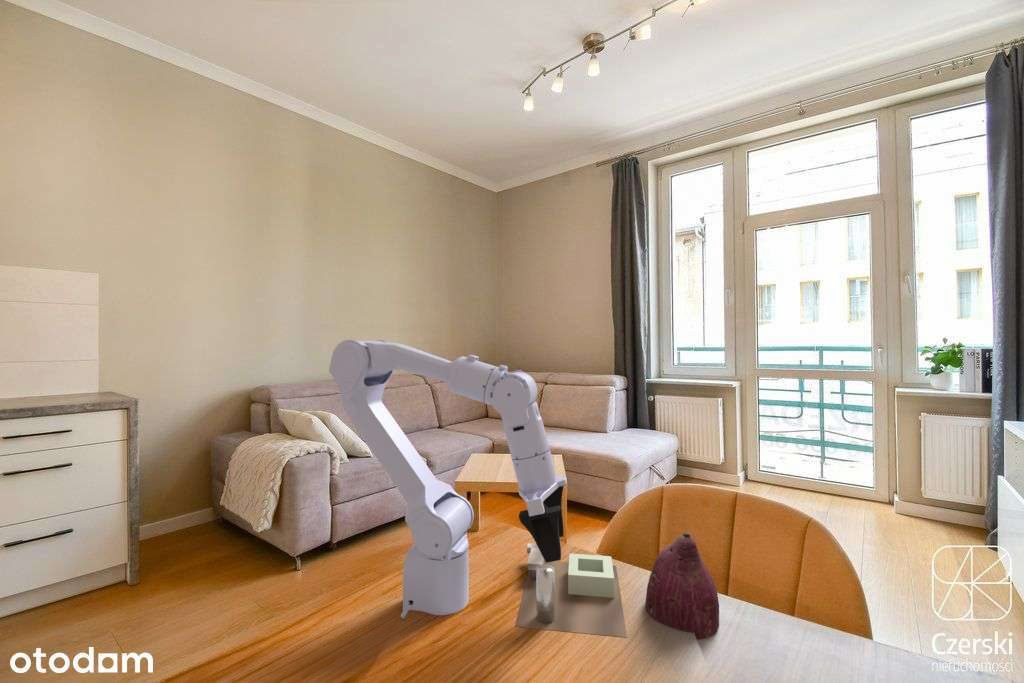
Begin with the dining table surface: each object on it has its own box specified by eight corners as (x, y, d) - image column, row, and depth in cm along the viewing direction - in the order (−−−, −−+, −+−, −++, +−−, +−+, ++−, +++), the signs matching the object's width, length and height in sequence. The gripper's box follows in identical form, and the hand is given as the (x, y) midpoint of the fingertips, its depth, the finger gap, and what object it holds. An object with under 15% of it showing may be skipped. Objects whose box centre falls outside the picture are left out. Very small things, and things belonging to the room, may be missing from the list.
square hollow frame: (568, 594, 68) (568, 574, 68) (569, 570, 75) (569, 553, 75) (614, 597, 67) (614, 578, 67) (611, 574, 74) (611, 556, 74)
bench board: (511, 633, 61) (511, 604, 61) (528, 564, 79) (528, 542, 79) (627, 645, 58) (626, 614, 58) (616, 571, 77) (615, 548, 77)
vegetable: (724, 665, 59) (748, 573, 55) (644, 644, 61) (662, 554, 57) (709, 602, 69) (728, 520, 65) (640, 586, 71) (655, 506, 67)
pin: (535, 622, 61) (535, 572, 61) (537, 611, 64) (537, 563, 64) (554, 624, 61) (554, 574, 61) (555, 613, 63) (555, 564, 63)
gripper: (554, 459, 56) (582, 566, 55) (560, 438, 70) (582, 523, 69) (501, 471, 57) (528, 577, 56) (517, 448, 71) (539, 531, 70)
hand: (555, 547), depth 62 cm, fingers open, 7 cm apart
